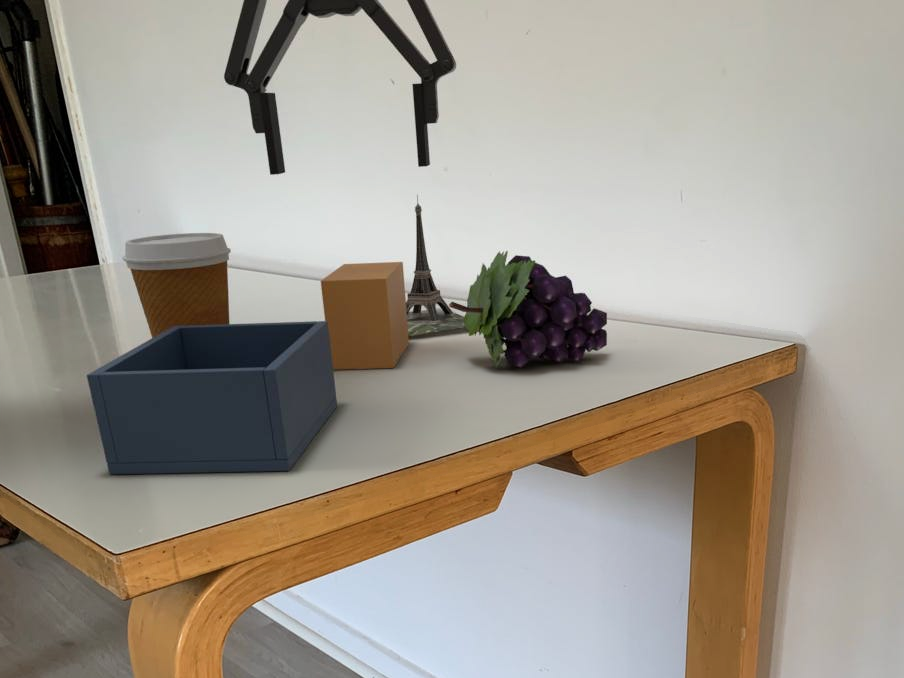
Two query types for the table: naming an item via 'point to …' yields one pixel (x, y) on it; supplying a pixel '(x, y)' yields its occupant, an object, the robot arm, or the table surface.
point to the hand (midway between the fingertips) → (350, 170)
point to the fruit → (531, 313)
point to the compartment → (215, 398)
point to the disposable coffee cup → (180, 279)
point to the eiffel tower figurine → (427, 294)
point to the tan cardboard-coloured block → (366, 315)
